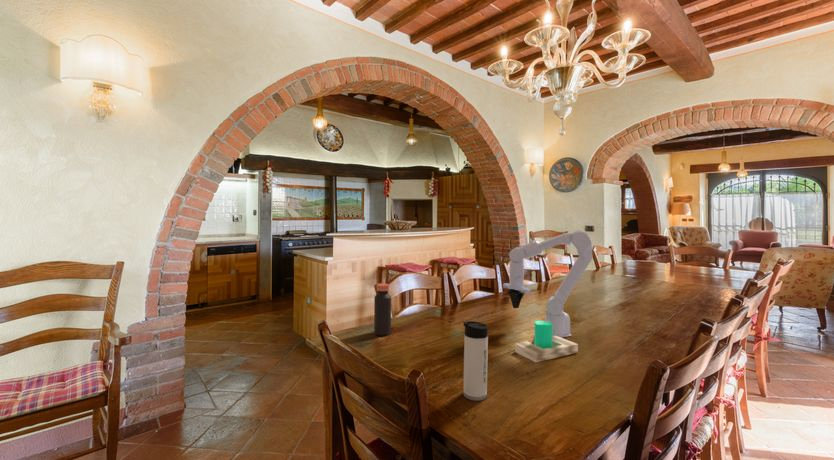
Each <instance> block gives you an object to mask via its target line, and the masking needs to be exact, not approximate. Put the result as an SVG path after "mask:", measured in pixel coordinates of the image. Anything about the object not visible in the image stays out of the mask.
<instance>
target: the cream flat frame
mask: <svg viewBox="0 0 834 460" xmlns="http://www.w3.org/2000/svg"><path fill="white" fill-rule="evenodd" d="M578 347H579V344H578V343H576V342H573V341H570V340H568V339H565V338H564V337H563V338H561V337H558V336H552V347H550V348H545V349H543V348H540V347H538V346H536V345H534V344H533V342H531V341H530V342H529V341H521V342H517V343H514V353H516V354H519V355H520V356H522V357H525V358H526V359H528V360H530V361H532V362H534V363H539V362H543V361H548V360H552V359H555V358H556V359H557V358H560V357H565V356H568V355H574V354H578V353H579V350H578Z"/></svg>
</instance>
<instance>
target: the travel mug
mask: <svg viewBox="0 0 834 460" xmlns="http://www.w3.org/2000/svg"><path fill="white" fill-rule="evenodd" d="M462 325H463V326H464V334H463V335H464V336H463V337H464V339H463V340H464V341H463V342H464V343H463V344H464V346H463V347H464V349H463V396H464V397H465V398H466V399H468V400H470V401H475V402H477V401H478V402H479V401H483V400H485V399H487V396H488V393H487V392H488V355H489V354H488V353H489V351H488V350H489V347H488V346H489V345H488V344H489V333H488V332H489V327H488V326H487V325H486V324H484V323H483V322H479V321H472V320H468V321H463V324H462Z"/></svg>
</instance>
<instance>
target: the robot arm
mask: <svg viewBox="0 0 834 460" xmlns="http://www.w3.org/2000/svg"><path fill="white" fill-rule="evenodd" d="M562 244H564V245H571V244H572V245H573V246H574V248H575V250H576V251H577V252H576V253H577V254H578V256H577V259H576V260H575V262H574V263H573V265H572V266H571V268H570V269H569V271H568V273H567V275H566V276H565V277H564V279H563V280H562V282H561V284H560V285H559V287H558V288H557V290H556V291H555V292H554V294H553V295H550V296H549V297H548V299H547V303H546V306H545V308H546V310H545V321H548V322H550V323H552V324H553V330H552V336H558V337H561V338H563V339H564V338H567V337H572V336H573V335H572V334H571V318H570V316H569V314H568V313H566V312H565V311H564V305H565V303H566V302H567V300H568V298H569V296H570V294H571V292H572V291H573V290H574V288H575V287H576V285H577V283H578V282H579V280H580V279H581V277H582V276H583V274H584V273H585V271H586V269H587V268H588V266H589V265H590V263H591V262H592V260H593V245H592V241H591V238H590V236H589V235H588V233H587V232H586V231H585V230H581V229H580V230H576V231H574V232H573V231H570V232H566V233H561V234H559V235H557V236H554V237H552V238H551V237H550V238H549V239H546V240H544V241H538V240H530V241H529V243H525V244H523V245H522V244H518V247H514V248H513V249H511V250H510V251H509V253H508V254H509V255H508V257H509V259H510V261H509V262H510V263H509V281H508V282H506V283H503V284H502V288H504V289H508V291H507V293H508V296H509V298H510V300H511V305H512V309H520V304H521V300H522V299H523V298H524V295H531V289H530V288H528V287H526V286H524V279H525V276H524V274H525V273H524V272H525V271H524V270H525V269H524V268H525V266H524V259H529V258H533V257H536V256H538V255H541V254H542V253H543V251H544V250H547V249H549V248H553V247H555V246H559V245H562Z"/></svg>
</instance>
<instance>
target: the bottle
mask: <svg viewBox="0 0 834 460" xmlns="http://www.w3.org/2000/svg"><path fill="white" fill-rule="evenodd" d="M389 290H390V285H389V284H388V283H377V284H376V295H375V296H374V299H373V300H374V307H373V308H374V312H373V313H374V315H373V317H374V320H373V321H374V322H373V323H374V324H373V325H374V327H373V329H374V330H373V331H374V332H373V333H374V335H376V336H378V337H379V336H380V337H382V336H384V337H385V336H389V335H390V334H391V332H392V327H391V326H392V296H391V295H390V293H389Z"/></svg>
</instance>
